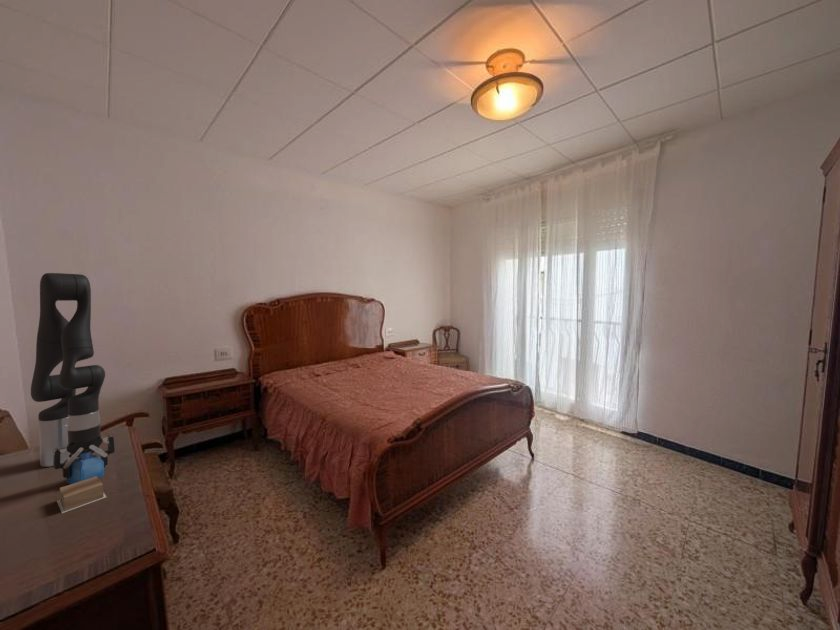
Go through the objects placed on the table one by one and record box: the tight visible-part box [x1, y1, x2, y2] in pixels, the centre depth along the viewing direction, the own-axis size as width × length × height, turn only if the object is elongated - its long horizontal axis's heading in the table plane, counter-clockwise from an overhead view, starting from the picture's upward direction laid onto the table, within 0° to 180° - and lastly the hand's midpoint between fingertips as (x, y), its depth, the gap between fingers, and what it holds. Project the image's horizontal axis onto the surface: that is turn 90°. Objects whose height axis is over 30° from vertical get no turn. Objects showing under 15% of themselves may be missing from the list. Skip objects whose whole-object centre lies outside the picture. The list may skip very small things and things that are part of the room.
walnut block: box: [59, 476, 104, 512], centre depth 96 cm, size 8×8×4 cm
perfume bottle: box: [66, 448, 105, 485], centre depth 106 cm, size 6×6×12 cm
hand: (85, 472), depth 107 cm, fingers closed on perfume bottle, 8 cm apart
